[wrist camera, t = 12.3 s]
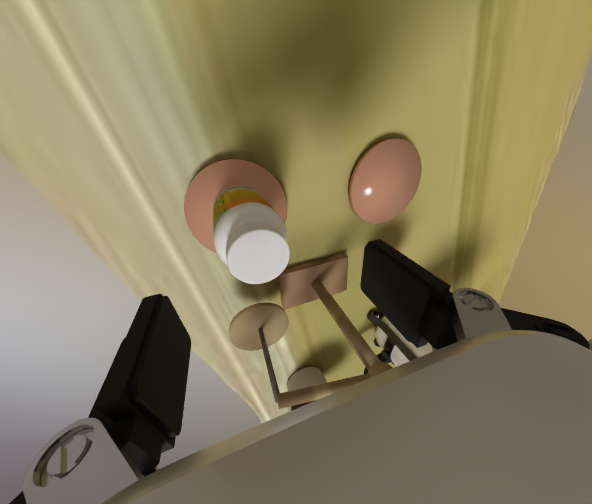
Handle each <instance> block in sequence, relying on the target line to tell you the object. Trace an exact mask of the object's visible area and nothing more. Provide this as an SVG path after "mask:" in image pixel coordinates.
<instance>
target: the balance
mask: <svg viewBox="0 0 592 504" xmlns="http://www.w3.org/2000/svg"><path fill="white" fill-rule="evenodd" d="M347 270H348V256H347V255H346V254H344V253H341V254H338V255H334V256H330V257H327V258H323V259H319V260H315V261H312V262H308V263H304V264H301V265H297V266H293V267H290V268H286V269H284V271H283V272H282V273H281V274H280V275H279V276H278V282H279V288H280V294H281V301H282V305H283V308H284V309H283V308H282V307H280V306H279V305H277V304H273V303H258V304H254V305H251V306H249V307H246V308H245V309H243V310H242V311H240V312H239V313H238V314H237V315H236V316H235V317H234V318H233V320H232V321H231V323H230V326H229V336H230V340H231V342H232V343H233V344H234V345H235V346H236V347H238V348H240V349H243V350H259V349H263V352H264V357H265V361H266V365H267V369H268V373H269V377H270V382H271V386H272V390H273V394H274V398H275V402H276V403H278V406H279V409H281V408H285V407H289V406H294V405H298V404H302V403H306V402H311V401H315V400H319V399H321V398H323V397H326V396H328V395H330V394H333V393H335V392H338V391H340V390H342V389H345V388H347V387H349V386H352V385H354V384H357V383H359V382H361V381H364V380H366V379H368V378H371V377H373V376H376V375H378V374H380V373H383V372H385V371H388V370H390V369H392V367H391V366H390V365H389V364H387V363H385V362H381V361H380V360H379V359H378V357H377V356H376V355H375V353H374V352H373V351H372V349H371V348H370V347H369V345H368V344H367V343H366V341H365V340H364V339H363V337H362V336H361V335H360V333H359V332H358V331H357V329H356V328H355V327H354V325H353V324H352V323H351V321H350V320H349V319H348V317H347V316H346V315H345V313H344V312H343V311H342V309H341V308H340V307H339V305H338V304H337V303H336V301H335V300H334V299H333V297H332V296H331V295H332V294H335V293H338V292H341V291H344V290H346V289H347ZM319 298H320V299H321V301H322V302H323V304H324V305H325V307H326V308H327V310H328V311H329V313H330V314H331V316H332V317H333V319H334V320H335V322H336V323H337V325H338V326H339V328H340V329H341V331H342V332H343V334H344V335H345V337H346V338H347V340H348V341H349V343H350V344H351V346H352V347H353V349H354V350H355V352H356V353H357V355H358V356H359V358H360V359H361V361H362V362H363V364H364V365H365V367H366V368H367V370H368V374H364V375H359V376H355V377H351V378H346V379H342V380H337V381H333V382H328V383H324V384H320V385H315V386H311V387H306V388H302V389H297V390H293V391H289V392H284V393H279V389H278V385H277V381H276V378H275V374H274V370H273V366H272V363H271V359H270V355H269V351H268V346H270V345H272V344H274V343H275V342H277V341H278V340H279V339H280V338H281V337H282V336H283V335H284V334H285V332H286V330H287V328H288V323H289V322H288V317H287V314H286V312H285V311H284V310H285V309H288V308H292V307H295V306H298V305H301V304H304V303H307V302H310V301H313V300H316V299H319Z"/></svg>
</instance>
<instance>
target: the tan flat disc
mask: <svg viewBox="0 0 592 504" xmlns="http://www.w3.org/2000/svg"><path fill="white" fill-rule="evenodd" d="M233 186H247V187H251V188H253V189H255V190H256V191H258V192H259V193H260V194H261V195H262V196H263V197H264V198H265V199H266V201H267V202H268V203H269V204H270V205H271V206H272V207H273V209H274V210H275V211H276V212H277V213H278V214H279V216H280V217H281V219H282V220H283V222H284V224H285V222H286V217H287V202H286V197H285V194H284V191H283V189H282V187H281V185H280V184H279V182H278V181H277V180H276V178H275V177H274V176H273V175H272V174H271V173H270V172H269V171H267V170H266V169H264V168H263V167H261V166H259V165H257V164H255V163H253V162H250V161H246V160H242V159H226V160H221V161H218V162H215V163H212V164H210V165H209V166H207V167H205V168H204V169H203V170H201V171H200V172H199V173H198V174H197V175H196V176H195V178H194V179H193V180H192V182H191V184H190V186H189V188H188V190H187V193H186V196H185V202H184V212H185V218H186V222H187V224H188V227H189V229H190V231H191V232H192V234H193V235H194V237H195V238H196V239H197V240H198V241H199V242H200V243H201V244H202V245H203V246H205V247H206V248H208V249H209V250H211V251H213V252H215V253H217V252H216V249H215V246H214V240H213V207H214V203H215V201H216V199H217V197H218V196H219V195H220V194H221V193H222V192H223V191H224V190H226V189H228V188H230V187H233Z"/></svg>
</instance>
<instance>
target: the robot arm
mask: <svg viewBox="0 0 592 504" xmlns="http://www.w3.org/2000/svg"><path fill="white" fill-rule="evenodd" d="M450 287H451V286H450V285H448V284H447V283H445V282H444V281H442V280H441V279H439V278H438V277H436V276H435V275H433V274H432V273H430V272H429V271H427V270H426V269H424V268H423V267H421V266H420V265H418V264H417V263H415V262H414V261H412V260H411V259H409V258H408V257H406V256H405V255H403V254H402V253H400V252H399V251H397V250H396V249H394V248H393V247H391V246H390V245H388V244H387V243H385V242H384V241H382V240H380V239H378V240H374V241H370V242H368V243H367V245H366V246H365V250H364V259H363V268H362V276H361V289H362V291H363V293H364V294H365V295H366V296H367V297H368V298H369V299H370V300H371V301H372V302H373V304H374V305H375V306H376V307H377V308H378V309H379V310H380V311H381V312H382V314H383V315H384V316H385V317H386V318H387V319H388V320H389V321H390V322H391V324H392V325H393V326H394V327H395V328H396V329H397V330H398V331H399V332H400V333H401V335H402V336H403V337H404V338H405V339H406V340H407V341H408V342H412V343H413V344H414V346H415V347H416V348H419V347H422V346H424V345H427V343H429V344H430V345H431V346H432V352H431V353H428V354H426V355H424V356H421V357H419V358H416V359H414V360H412V361H409V362H407V363H404V364H402V365H400V366H397V367H395V368H392V369H390V370H388V371H385V372H383V373H380V374H378V375H376V376H373V377H371V378H368V379H366V380H364V381H361V382H359V383H357V384H354V385H352V386H349V387H347V388H345V389H342V390H340V391H338V392H335V393H333V394H330V395H328V396H326V397H323V398H321V399H319V400H316V401H314V402H311V403H309V404H307V405H304V406H302V407H300V408H297V409H295V410H293V411H290V412H288V413H286V414H283V415H281V416H279V417H276V418H274V419H272V420H269V421H267V422H265V423H262V424H260V425H258V426H255V427H253V428H251V429H248V430H246V431H244V432H241V433H239V434H237V435H234V436H232V437H230V438H227V439H225V440H223V441H221V442H218V443H216V444H214V445H212V446H209V447H207V448H205V449H203V450H200V451H198V452H196V453H194V454H191V455H189V456H187V457H185V458H183V459H180V460H178V461H176V462H174V463H171V464H170V465H167V466H166V467H164V468H162V469H159V468H158V466H157V465H158V464H159V461H160V456H161V453H162V452H165V451H167V450H170V449H172V448H174V445H175V437H176V436H177V435H179V434H180V432H181V426H182V418H183V410H184V401H185V392H186V383H187V375H188V367H189V358H190V350H191V339H190V336H189V334H188V332H187V331H186V329H185V327H184V325H183V323H182V321H181V320H180V318H179V316H178V314H177V312H176V310H175V309H174V307H173V305H172V303H171V301H170V299H169V298H168V296H163V295H162V294H157V295H153V296H149V297H145V298H143V300H142V302H141V304H140V306H139V309H138V311H137V313H136V316H135V318H134V320H133V322H132V325H131V327H130V329H129V332H128V334H127V336H126V338H124V340H123V341H122V343H121V345H120V348H119V350H118V352H117V354H116V356H115V359H114V361H113V363H112V365H111V368H110V370H109V372H108V374H107V377H106V379H105V381H104V383H103V386H102V388H101V390H100V392H99V395H98V397H97V399H96V401H95V403H94V406H93V408H92V410H91V412H90V415H89V417H88V418H85V419H81V420H78V421H76V422H74V423H73V424H71V425H69V426H67V427H66V428H64V429H63V430H62V431H60V432H59V433H58V434H56V435H55V436H54V437H53V438H52V439H51V440H50V441H49V442H48V443H47V444H46V445H45V446H44V447H43V448H42V449H41V451H40V452H39V453H38V454H37V455H36V457H35V458H34V460H33V462H32V463H31V465H30V467H29V468H28V469H27V472H26V475H25V478H24V480H23V491H22V492H21V493H20V494H19V495H18V496H17V497H16V498H15V499H14V500H13V501H12V502H11V503H9V504H592V339H590V340H589V341H587V340H586V339H585V338H584V337H583V335H581V334H580V333H578V332H577V331H576V330H574V329H573V328H571V327H570V326H568V325H566V324H564V323H561V322H558V321H555V320H552V319H548V318H544V317H539V316H535V315H530V314H526V313H521V312H517V311H513V310H508V309H504V308H500V306H499V304H498V303H497V302H496V301H495V300H494V299H493V298H492V297H491V296H489V295H487V294H485V293H484V292H481V291H478V290H475V289H471V288H458V289H456V290H455V291H454V292H453V293H451V292H450V291H449V289H450Z"/></svg>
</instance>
